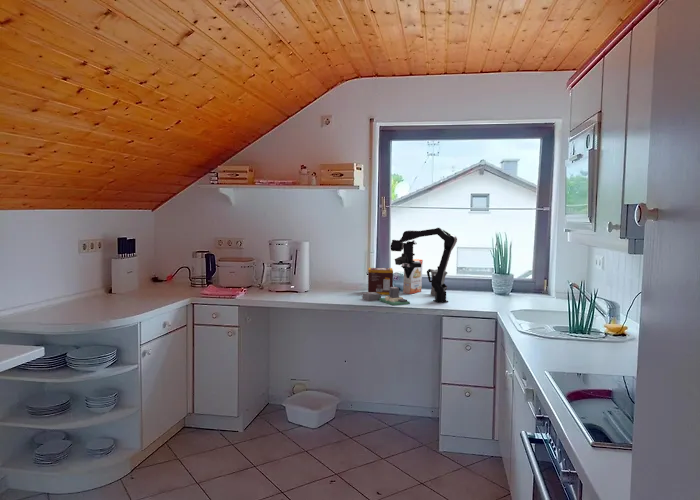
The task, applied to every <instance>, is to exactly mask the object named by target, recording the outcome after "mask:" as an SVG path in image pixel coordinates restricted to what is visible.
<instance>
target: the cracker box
mask: <svg viewBox="0 0 700 500" xmlns="http://www.w3.org/2000/svg"><path fill="white" fill-rule="evenodd" d="M413 260H414V262H420V263H421V267H417V268H414V269H413V271H412V273H411V275H410V277H409V278H407V277H406V274H405V271H404V270H403V285H402V288H403V289H402V293H403V294H408V295H412V294H417V293H420V292H422V284H423V283H422V281H423V264H424V263H423V261H424V260H423V259H419V258H418V259H417V258H416V259H415V258H413Z"/></svg>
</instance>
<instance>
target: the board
mask: <svg viewBox="0 0 700 500" xmlns="http://www.w3.org/2000/svg"><path fill="white" fill-rule="evenodd" d="M378 301H380V302H382V303H386V304H388V305H391V306H402V305H410V304H411V301H409V300H408V299H405V298H404V297H402V296H400V295H399V298H390V297H389V295H384V297H381V298H379V300H378Z"/></svg>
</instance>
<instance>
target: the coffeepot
mask: <svg viewBox="0 0 700 500" xmlns="http://www.w3.org/2000/svg"><path fill="white" fill-rule="evenodd" d="M438 268H439V265H438V266H437V269H431V268H429V269H427V271H426V274H427V279H428V282H429V283H432V282H431V280H432V279H431V277H432V276H433V275H434V274H437V271H438ZM430 275H431V276H430ZM447 275H448V272H447V271H446V270H445V273H444V282H445V281H446V280H445V279H446V276H447ZM430 296H433V297H435V290H434V288H433V287H432V286H431V289H430Z"/></svg>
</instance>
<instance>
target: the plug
mask: <svg viewBox="0 0 700 500" xmlns="http://www.w3.org/2000/svg"><path fill="white" fill-rule="evenodd" d="M388 296H389V297H390V298H399V296H400V288H399V287H397V286H393V287H390V288H389V295H388Z"/></svg>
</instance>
